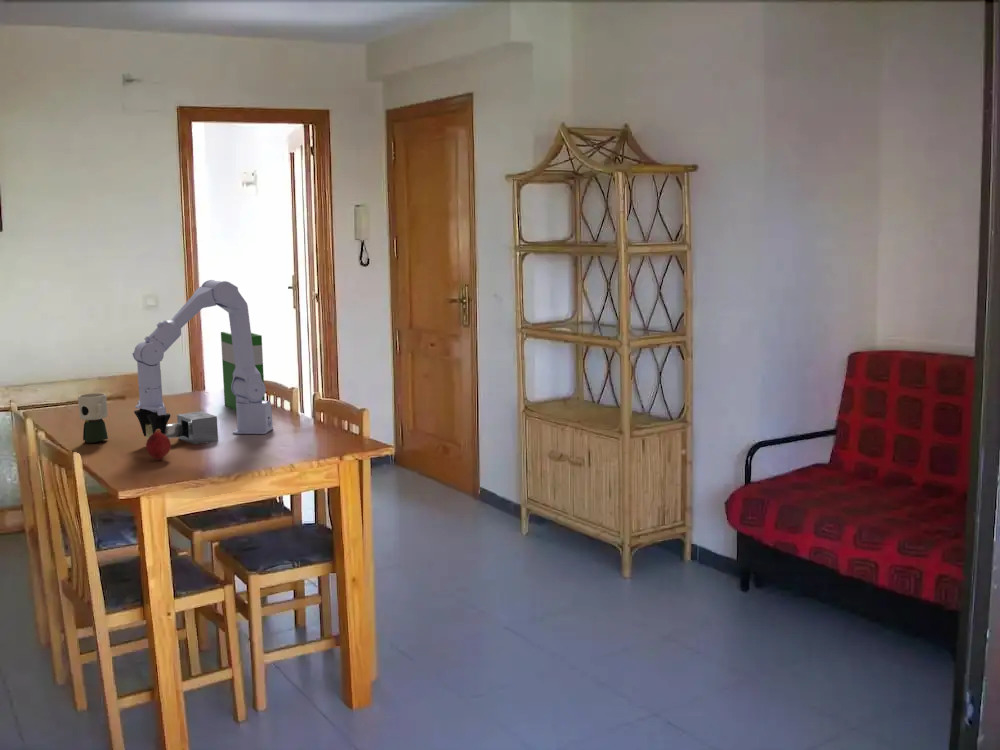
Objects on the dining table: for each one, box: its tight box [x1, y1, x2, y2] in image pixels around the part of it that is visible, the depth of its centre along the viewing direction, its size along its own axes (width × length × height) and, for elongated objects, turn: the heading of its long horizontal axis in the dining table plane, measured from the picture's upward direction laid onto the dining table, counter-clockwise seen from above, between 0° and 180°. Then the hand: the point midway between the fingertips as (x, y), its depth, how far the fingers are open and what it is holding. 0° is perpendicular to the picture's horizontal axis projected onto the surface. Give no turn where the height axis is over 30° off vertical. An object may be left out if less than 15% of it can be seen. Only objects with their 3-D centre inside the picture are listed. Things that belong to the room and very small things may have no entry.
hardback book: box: [220, 331, 266, 412], centre depth 311 cm, size 18×7×24 cm, turn 33°
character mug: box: [77, 392, 109, 444], centre depth 266 cm, size 11×7×13 cm, turn 43°
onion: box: [145, 429, 172, 461], centre depth 245 cm, size 6×6×8 cm
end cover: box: [145, 422, 183, 442], centre depth 261 cm, size 8×5×5 cm, turn 130°
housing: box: [176, 410, 219, 445], centre depth 267 cm, size 7×10×7 cm
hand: (153, 438), depth 260 cm, fingers open, 7 cm apart
